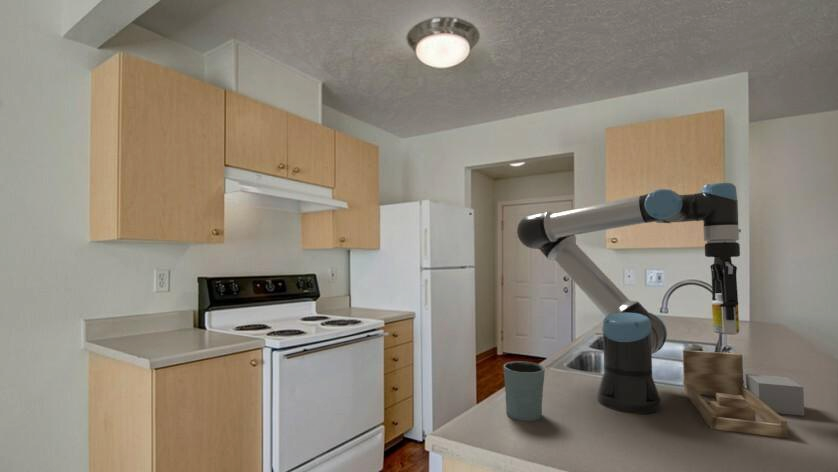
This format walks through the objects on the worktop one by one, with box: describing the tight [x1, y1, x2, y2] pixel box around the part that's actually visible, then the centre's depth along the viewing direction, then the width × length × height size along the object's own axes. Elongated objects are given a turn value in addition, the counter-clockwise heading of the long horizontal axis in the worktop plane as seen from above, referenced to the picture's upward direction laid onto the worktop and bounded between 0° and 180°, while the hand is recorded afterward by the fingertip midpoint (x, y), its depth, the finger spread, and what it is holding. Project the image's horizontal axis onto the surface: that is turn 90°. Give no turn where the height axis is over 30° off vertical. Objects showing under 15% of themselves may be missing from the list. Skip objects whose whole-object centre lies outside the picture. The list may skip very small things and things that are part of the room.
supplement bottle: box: [711, 293, 740, 335], centre depth 110 cm, size 6×6×10 cm
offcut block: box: [715, 393, 746, 409], centre depth 99 cm, size 5×3×2 cm, turn 65°
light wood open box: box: [682, 349, 788, 439], centre depth 107 cm, size 14×28×12 cm, turn 159°
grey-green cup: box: [503, 361, 546, 422], centre depth 105 cm, size 10×10×12 cm
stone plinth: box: [745, 373, 805, 416], centre depth 109 cm, size 9×9×7 cm
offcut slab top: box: [709, 400, 757, 421], centre depth 98 cm, size 8×4×2 cm, turn 76°
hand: (726, 330), depth 110 cm, fingers closed on supplement bottle, 6 cm apart
